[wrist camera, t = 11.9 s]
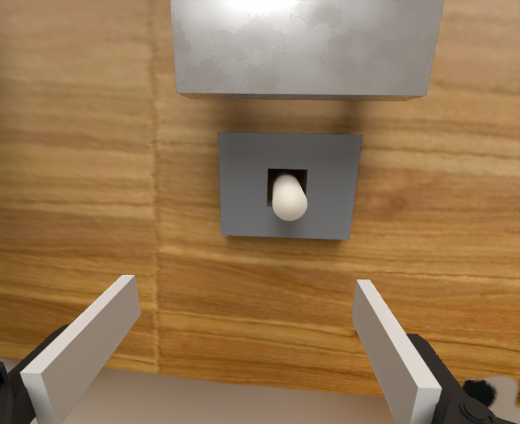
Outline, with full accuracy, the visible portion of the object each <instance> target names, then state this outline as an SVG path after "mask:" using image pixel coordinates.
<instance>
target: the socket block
mask: <svg viewBox="0 0 520 424" xmlns="http://www.w3.org/2000/svg"><path fill="white" fill-rule="evenodd" d="M218 141H219V178H220V215H221V235H232V236H258V237H285V238H311V239H338V240H349V238H350V230H351V222H352V214H353V206H354V198H355V190H356V183H357V175H358V167H359V159H360V151H361V143H362V135H337V134H283V133H230V132H218ZM268 168H270V169H304V180H303V192H304V194H305V196H306V199H307V209H306V211H305V213H304V214H303V215H302V216H301V217H300V218H298V219H296V220H293V221H286V220H283V219H281V218H279V217H278V216H277V215H276V214H275V212H274V210H273V206H272V201H273V200H268Z"/></svg>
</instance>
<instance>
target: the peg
mask: <svg viewBox="0 0 520 424" xmlns="http://www.w3.org/2000/svg"><path fill="white" fill-rule="evenodd" d="M272 206H273V210H274V212H275V214H276V215H277V216H278V217H279V218H281V219H283V220H286V221H293V220H296V219H298V218H300V217H301V216H302V215H303V214H304V213H305V211H306V209H307V199H306V196H305V194H304V192H303V190H302V188H301V186H300V184H299V182H298V180H297V178H296V176H295V175H294V174H293V173H291V172H288V171H284V172H280V173H279V174H277V175H276V176H275V178H274V181H273V201H272Z"/></svg>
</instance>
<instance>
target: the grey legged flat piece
mask: <svg viewBox="0 0 520 424" xmlns="http://www.w3.org/2000/svg"><path fill="white" fill-rule="evenodd" d="M170 1H171V16H172V30H173V45H174V60H175V74H176V89H177V93H179V94H181V95H183V96H186V97H188V98H190V99H264V100H344V101H408V100H411V99H415V98H419V97H423V96H427V91H428V85H429V80H430V75H431V69H432V64H433V59H434V53H435V48H436V43H437V37H438V32H439V26H440V21H441V16H442V10H443V5H444V0H170Z"/></svg>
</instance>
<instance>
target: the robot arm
mask: <svg viewBox="0 0 520 424" xmlns="http://www.w3.org/2000/svg"><path fill="white" fill-rule="evenodd" d="M140 315H141V310H140V304H139V298H138V292H137V286H136V279H135V275H122V276H121V277H120V278H119V279H118V280H117V281H116V282H114V283H113V284H112V285H111V286H110V287H109V288H108V289H107V290H106V291H105V292H104V293H103V294H102V295H101V296H100V297H99V298H98V299H97V300H96V301H95V302H94V303H93V304H91V305H90V306H89V307H88V308H87V309H86V310H85V311H84V312H83V313H82V314H81V315H80V316H79V317H78V318H77V319H76V320H75V321H74V322H73V323H72V324H71V325H64V326H62V327H61V328H59V329H58V330H56V331H54V332H53V333H52V334H51V335H50V336H48V337H47V338H46V339H45V340H44V341H43V343H41V344H40V345H39V346H37V347H36V348H35V350H33V351H32V352H31V353H30V354H29V355H28V356H27V357H25V358H24V359H23V360H22V361H21V362H20V363H19V364H18V365H17V366H16V367H15V368H13V369H12V370H11V371H10V372H9V373H8V374H7V371H6V369H5V366H4V363H3V362H1V361H0V424H30V423H31V421H32V420H33V419H34V418H35V417H36V419H37V422H38V424H62V423H63V421H64V420H65V419H66V417H67V416H68V415H69V413H70V412H71V411H72V409H73V408H74V406H75V405H76V404H77V402H78V401H79V399H80V398H81V396H82V395H83V394H84V392H85V391H86V390H87V388H88V387H89V385H90V384H91V382H92V381H93V380H94V379H95V377H96V376H97V374H98V373H99V372H100V370H101V369H102V367H103V366H104V365H105V363H106V362H107V361H108V359H109V358H110V356H111V355H112V354H113V352H114V351H115V349H116V348H117V347H118V345H119V344H120V342H121V341H122V340H123V338H124V337H125V336H126V334H127V333H128V331H129V330H130V329H131V327H132V326H133V324H134V323H135V322H136V320H137V319H138V317H139V316H140ZM352 321H353V324H354V326H355V328H356V331H357V333H358V335H359V338H360V340H361V342H362V345H363V347H364V349H365V352H366V354H367V356H368V359H369V361H370V363H371V366H372V368H373V371H374V373H375V375H376V378H377V380H378V382H379V385H380V387H381V389H382V392H383V394H384V396H385V399H386V401H387V403H388V406H389V408H390V410H391V413H392V415H393V417H394V420H395V422H396V424H516V423H513V422H510V421H506V420H503V419H500V418H498V417H495V415H494V414H493V412H492V411H490V410H489V409H488V408H487V407H486V406H485V405H484V404H482V403H481V402H479V401H477V400H476V399H473V398H471V397H469V396H468V395H467V394H466V393H465V391H464V390H463V389H462V387H461V386H460V385H459V383H458V382H457V381H456V379H455V378H454V377H453V375H452V374H451V373H450V371H449V370H448V369H447V367H446V366H445V364H444V363H442V360H441V359H440V358H439V356H438V355H436V352H435V351H434V350H433V348H432V347H431V346H430V344H429V343H428V342H427V341H426V340H424V339H423V338H422V337H421V336H419V335H418V334H406V333H405V332H404V331H403V329H402V328H401V326H400V325H399V323H398V322H397V320H396V319H395V317H394V316H393V314H392V313H391V311H390V309H389V308H388V306H387V305H386V303H385V302H384V300H383V299H382V297H381V296H380V294H379V293H378V291H377V290H376V288H375V287H374V285H373V284H372V282H371V281H370V280H356V287H355V296H354V304H353V312H352Z"/></svg>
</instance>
